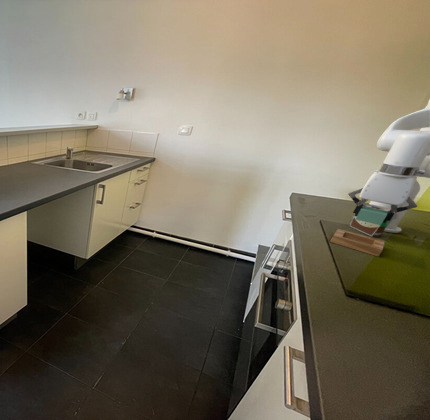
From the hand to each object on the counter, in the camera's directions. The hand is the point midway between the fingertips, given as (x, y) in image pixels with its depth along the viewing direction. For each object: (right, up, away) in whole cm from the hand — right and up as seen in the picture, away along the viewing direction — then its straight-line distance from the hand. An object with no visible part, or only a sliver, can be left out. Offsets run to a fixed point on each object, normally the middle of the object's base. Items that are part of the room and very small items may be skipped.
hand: (369, 218), depth 89 cm
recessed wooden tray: (-11, -9, -4) cm, 15 cm away
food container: (+8, -6, +7) cm, 12 cm away
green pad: (0, -1, 0) cm, 1 cm away
